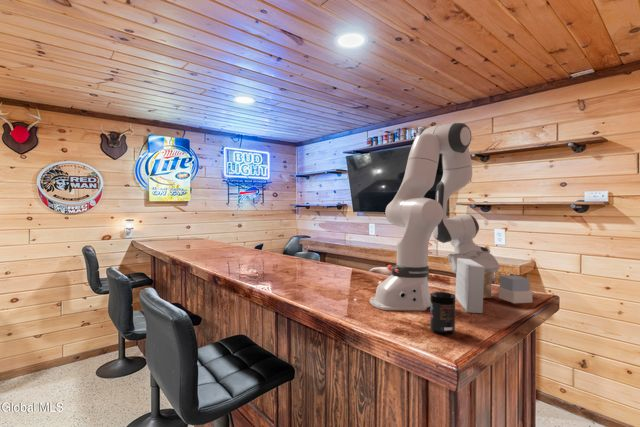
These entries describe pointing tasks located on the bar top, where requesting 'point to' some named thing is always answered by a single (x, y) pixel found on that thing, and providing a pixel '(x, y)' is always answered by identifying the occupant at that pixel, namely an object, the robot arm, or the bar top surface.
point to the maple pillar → (487, 284)
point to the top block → (514, 283)
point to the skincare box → (470, 285)
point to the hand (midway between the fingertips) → (482, 280)
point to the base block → (515, 296)
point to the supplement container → (442, 313)
